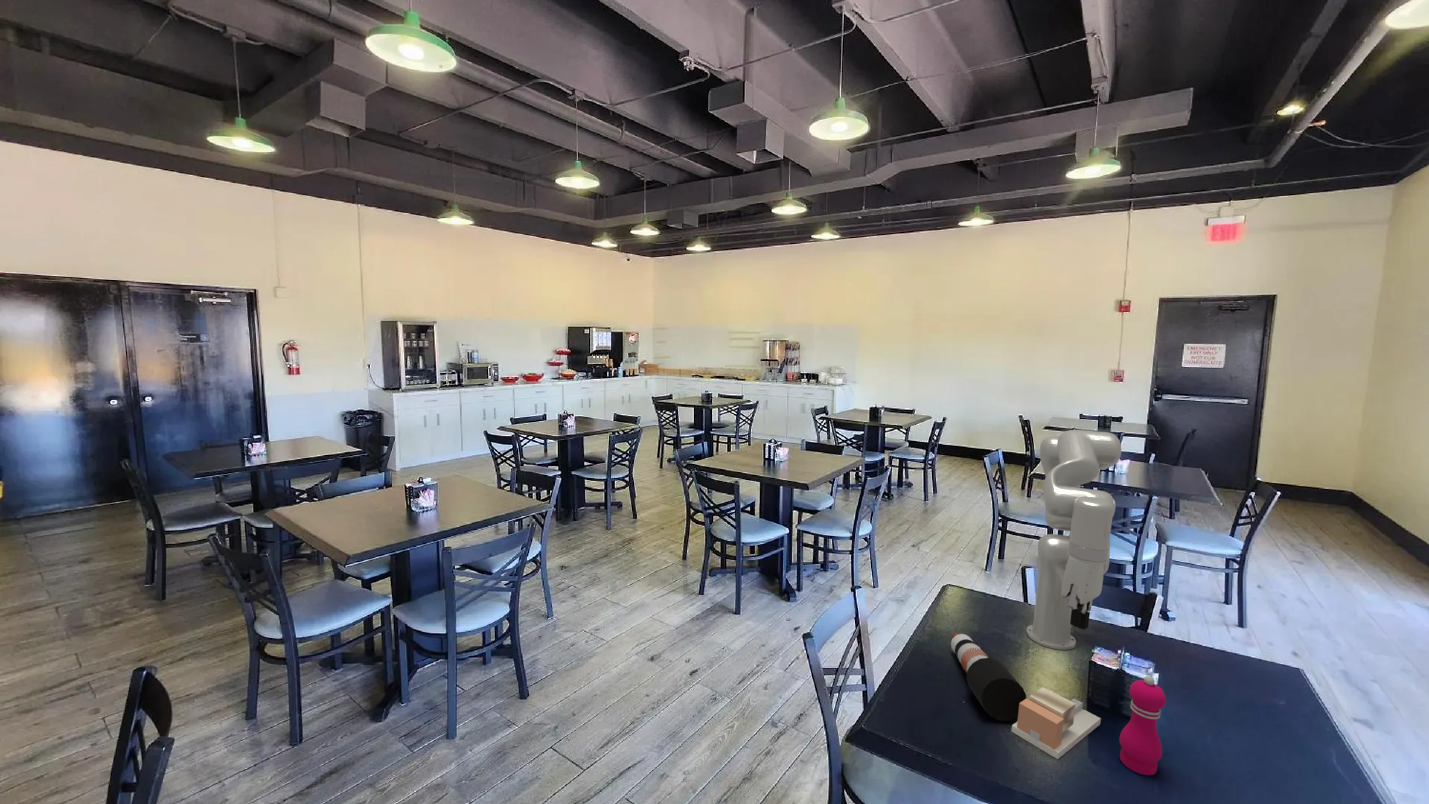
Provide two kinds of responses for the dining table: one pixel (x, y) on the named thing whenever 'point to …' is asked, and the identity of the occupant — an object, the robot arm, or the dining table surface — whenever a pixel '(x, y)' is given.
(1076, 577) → the robot arm
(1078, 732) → the rail base
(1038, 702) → the block
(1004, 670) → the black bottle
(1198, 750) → the dining table surface
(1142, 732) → the pepper mill
